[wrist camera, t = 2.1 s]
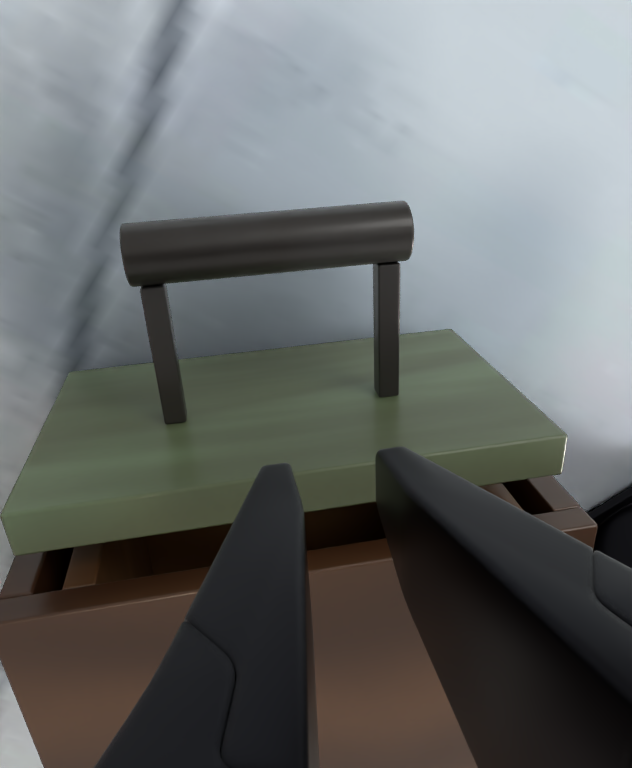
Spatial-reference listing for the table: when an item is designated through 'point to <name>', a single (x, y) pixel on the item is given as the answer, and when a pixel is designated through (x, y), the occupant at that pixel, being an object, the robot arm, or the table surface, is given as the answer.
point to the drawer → (261, 408)
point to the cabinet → (166, 613)
